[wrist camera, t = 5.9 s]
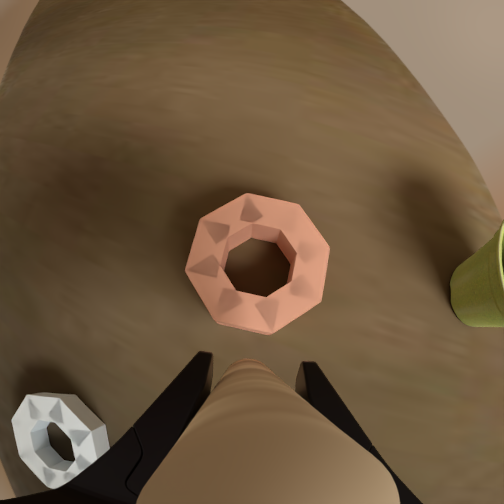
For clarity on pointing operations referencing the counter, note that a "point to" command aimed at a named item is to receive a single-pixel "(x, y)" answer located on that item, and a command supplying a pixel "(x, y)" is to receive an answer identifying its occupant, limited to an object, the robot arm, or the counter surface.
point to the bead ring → (267, 229)
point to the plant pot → (481, 285)
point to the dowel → (265, 451)
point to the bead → (73, 425)
